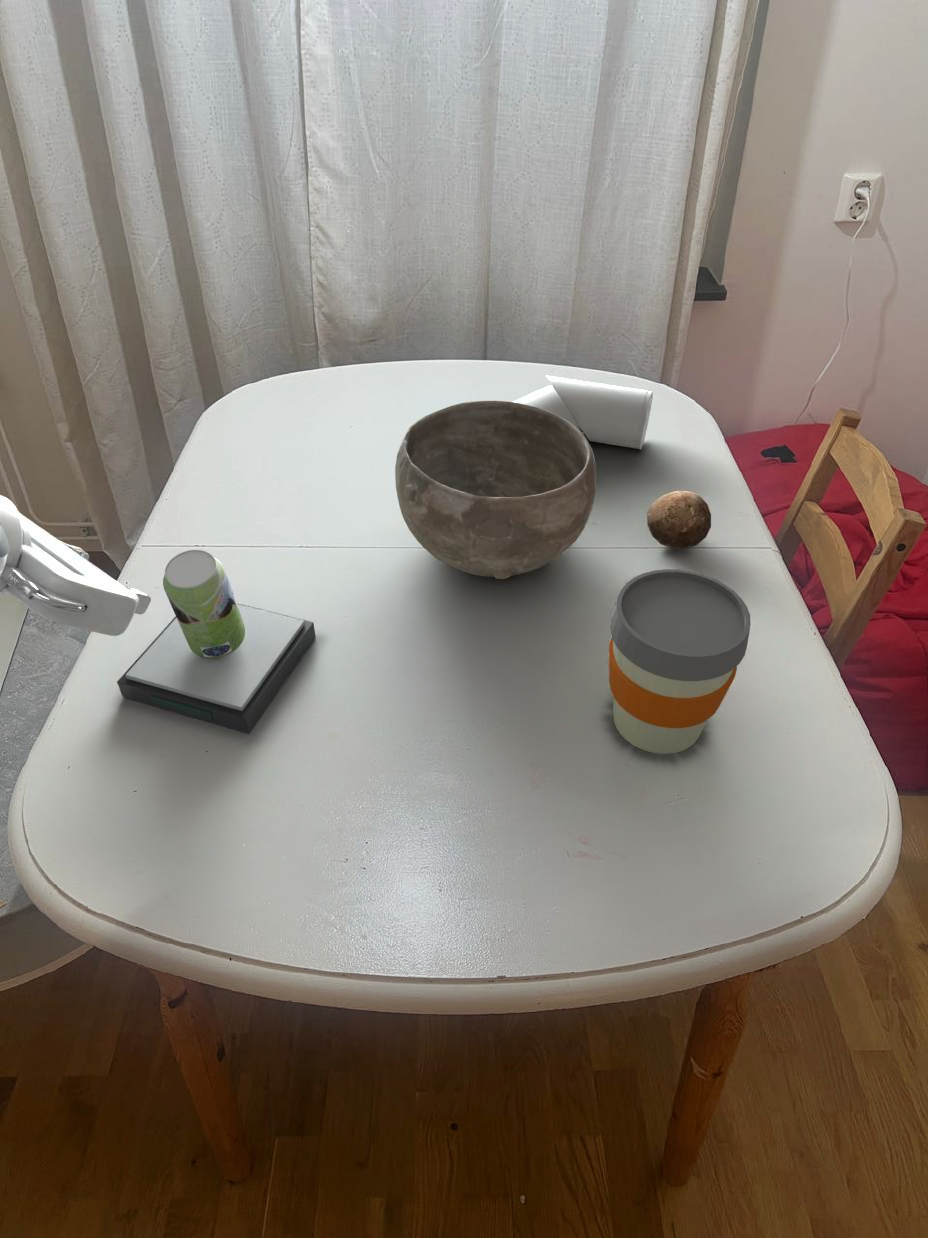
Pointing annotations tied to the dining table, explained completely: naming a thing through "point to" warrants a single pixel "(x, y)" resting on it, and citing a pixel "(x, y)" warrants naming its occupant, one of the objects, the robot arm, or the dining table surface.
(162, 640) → the kitchen scale
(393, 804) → the dining table surface
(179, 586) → the beverage can
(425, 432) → the bowl
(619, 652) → the reusable coffee cup
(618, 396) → the elbow connector
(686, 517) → the brown potato
